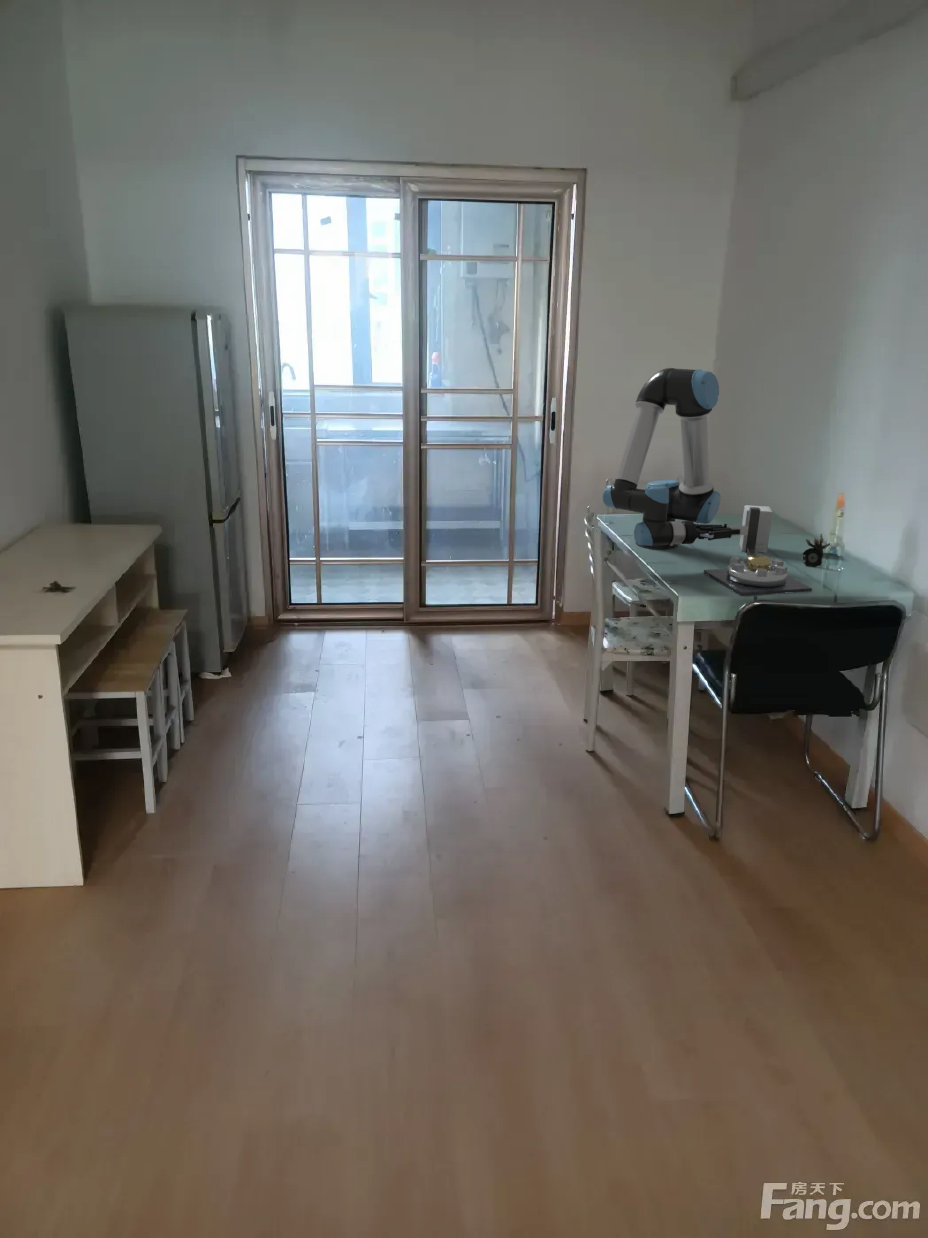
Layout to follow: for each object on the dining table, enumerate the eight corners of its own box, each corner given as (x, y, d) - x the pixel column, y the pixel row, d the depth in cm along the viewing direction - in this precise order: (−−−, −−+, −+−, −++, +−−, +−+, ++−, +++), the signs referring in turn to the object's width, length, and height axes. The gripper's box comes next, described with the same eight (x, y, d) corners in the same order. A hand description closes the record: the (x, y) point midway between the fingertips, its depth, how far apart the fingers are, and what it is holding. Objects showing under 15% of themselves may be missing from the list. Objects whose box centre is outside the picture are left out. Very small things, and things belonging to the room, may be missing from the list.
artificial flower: (795, 569, 301) (792, 540, 301) (811, 562, 320) (808, 534, 319) (823, 566, 296) (819, 536, 295) (837, 559, 315) (834, 531, 314)
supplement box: (767, 553, 314) (773, 511, 309) (741, 551, 316) (746, 510, 311) (764, 546, 323) (770, 506, 317) (739, 544, 324) (744, 504, 319)
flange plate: (703, 572, 290) (706, 549, 288) (769, 569, 296) (772, 545, 293) (740, 595, 268) (744, 570, 266) (811, 591, 274) (815, 566, 271)
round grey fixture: (790, 588, 272) (799, 531, 266) (730, 584, 274) (737, 527, 268) (775, 561, 300) (782, 508, 294) (720, 557, 303) (726, 505, 297)
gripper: (671, 538, 298) (735, 536, 303) (689, 549, 286) (755, 546, 291) (673, 516, 296) (737, 514, 301) (691, 526, 283) (758, 524, 288)
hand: (746, 530), depth 296 cm, fingers closed
